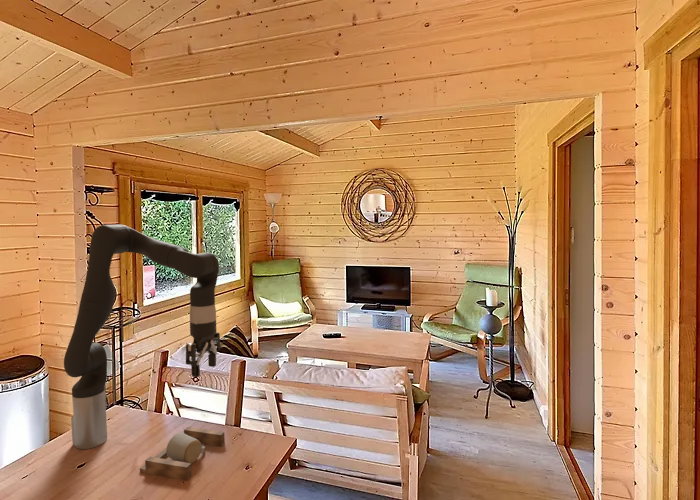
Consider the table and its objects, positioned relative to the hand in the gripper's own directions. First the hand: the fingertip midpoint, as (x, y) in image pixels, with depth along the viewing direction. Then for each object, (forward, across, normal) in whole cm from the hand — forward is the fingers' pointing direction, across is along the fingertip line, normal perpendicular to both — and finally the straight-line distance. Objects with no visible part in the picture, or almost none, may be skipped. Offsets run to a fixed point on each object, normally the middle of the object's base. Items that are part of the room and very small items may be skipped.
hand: (204, 371), depth 126 cm
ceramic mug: (+29, 0, -7) cm, 30 cm away
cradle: (+28, 0, -7) cm, 29 cm away
